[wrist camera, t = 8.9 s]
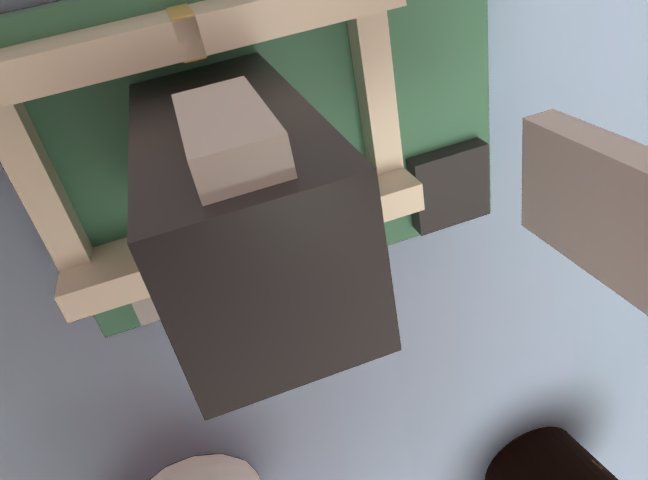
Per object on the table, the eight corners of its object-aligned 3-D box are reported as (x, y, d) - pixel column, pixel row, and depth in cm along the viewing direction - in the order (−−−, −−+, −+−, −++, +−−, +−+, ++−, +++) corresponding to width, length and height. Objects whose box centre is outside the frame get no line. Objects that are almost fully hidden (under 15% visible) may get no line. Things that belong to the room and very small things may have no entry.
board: (106, 314, 22) (104, 351, 20) (-41, 23, 16) (-64, 36, 14) (471, 197, 24) (501, 220, 22) (461, -90, 18) (500, -92, 16)
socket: (74, 279, 19) (67, 323, 17) (-42, 56, 15) (-71, 76, 13) (395, 181, 21) (424, 209, 19) (369, -41, 17) (402, -36, 15)
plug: (172, 200, 19) (205, 420, 10) (119, 58, 16) (106, 197, 8) (284, 167, 19) (401, 349, 11) (251, 25, 17) (369, 121, 8)
